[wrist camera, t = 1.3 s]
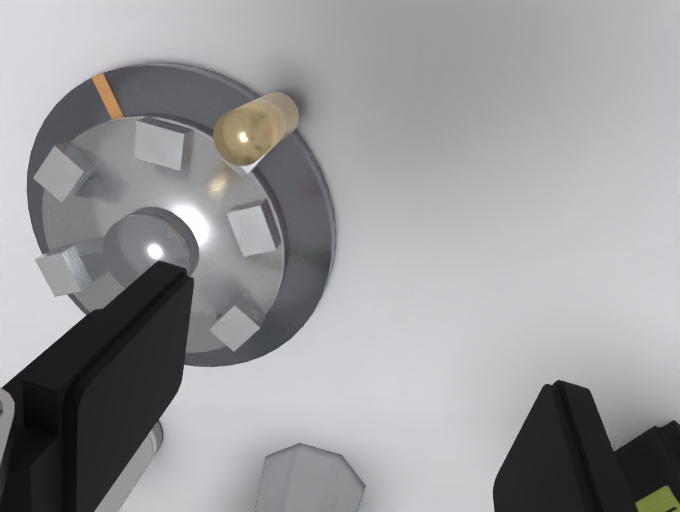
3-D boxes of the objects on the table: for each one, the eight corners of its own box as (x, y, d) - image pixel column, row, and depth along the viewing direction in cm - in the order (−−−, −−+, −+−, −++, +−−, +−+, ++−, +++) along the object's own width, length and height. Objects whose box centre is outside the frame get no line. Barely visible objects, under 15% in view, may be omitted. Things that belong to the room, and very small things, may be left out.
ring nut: (194, 376, 38) (152, 440, 32) (20, 229, 35) (-60, 270, 30) (391, 196, 30) (379, 239, 24) (184, -10, 27) (118, -15, 22)
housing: (40, 23, 31) (21, 24, 30) (371, 115, 30) (368, 120, 29) (44, 308, 40) (30, 318, 39) (300, 387, 39) (295, 401, 37)
